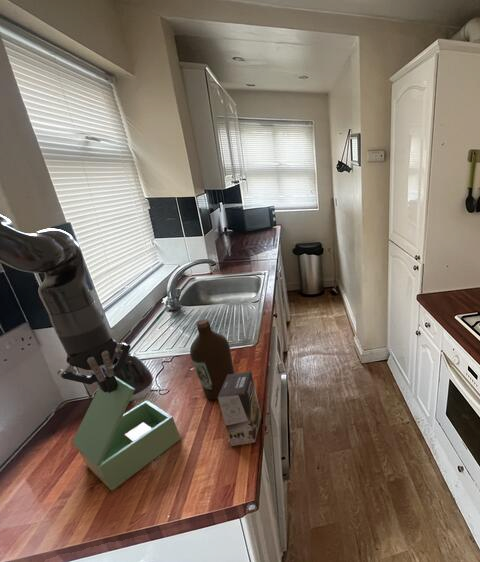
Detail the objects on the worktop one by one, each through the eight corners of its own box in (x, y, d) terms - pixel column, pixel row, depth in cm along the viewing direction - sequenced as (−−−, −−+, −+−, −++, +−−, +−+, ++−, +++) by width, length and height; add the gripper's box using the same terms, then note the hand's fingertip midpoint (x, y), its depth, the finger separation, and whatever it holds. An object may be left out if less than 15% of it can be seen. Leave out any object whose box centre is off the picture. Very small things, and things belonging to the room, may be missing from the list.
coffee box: (256, 442, 80) (244, 394, 73) (230, 446, 79) (216, 398, 73) (262, 415, 88) (252, 370, 82) (238, 419, 87) (226, 373, 81)
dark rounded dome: (125, 411, 91) (107, 370, 85) (112, 398, 96) (93, 358, 91) (162, 390, 99) (148, 351, 93) (148, 379, 104) (133, 341, 98)
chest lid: (109, 372, 76) (105, 372, 75) (135, 389, 70) (131, 388, 69) (76, 442, 72) (71, 442, 71) (100, 465, 66) (96, 466, 65)
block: (129, 447, 79) (124, 434, 77) (148, 434, 82) (143, 421, 80) (138, 454, 77) (132, 441, 75) (157, 440, 80) (152, 428, 78)
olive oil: (226, 374, 105) (209, 309, 96) (245, 385, 100) (229, 318, 90) (196, 393, 97) (174, 324, 88) (215, 406, 92) (193, 335, 82)
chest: (155, 421, 87) (146, 400, 84) (180, 438, 81) (172, 416, 78) (87, 466, 75) (74, 443, 72) (111, 491, 69) (99, 467, 66)
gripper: (109, 308, 71) (134, 369, 78) (31, 336, 61) (67, 403, 67) (125, 315, 68) (150, 378, 74) (44, 346, 57) (82, 416, 64)
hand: (110, 390), depth 71 cm, fingers closed
